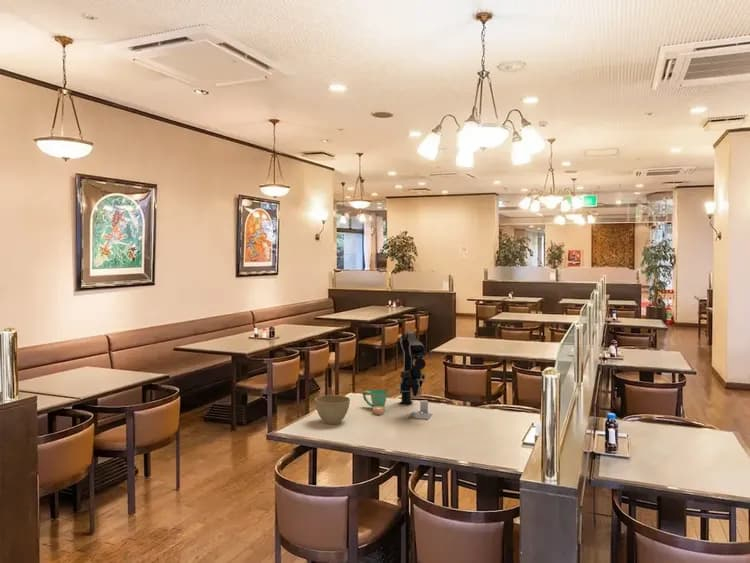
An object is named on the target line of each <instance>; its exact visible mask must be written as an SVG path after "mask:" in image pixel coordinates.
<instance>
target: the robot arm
mask: <svg viewBox="0 0 750 563" xmlns="http://www.w3.org/2000/svg"><path fill="white" fill-rule="evenodd" d="M399 340H400V341H399V344H400V346H401V348H402V350H403V371H401V372H400V375H399V376H400V383H399V385H398V393H399V394H401V401H400V402H399V404H400V403H401V404H402V405H411V404H412V403H413V400H412V398H411V397H410V388H411V387H412V391H413V395H414V396H416V394H417V392H418V389H419V387H423V384H424V382H425V380H426V374H425V373H423V372H422V370H423V369H424V368H425V367H426V365H427V364H426V361H425V359H424V358H423V357H426V348H425V346H424V344H423V343H422V342H421V341H418V339H417V336H416V334H415V331H407V332H405V333H404V334H403V335H401V337H400V339H399ZM401 404H400V405H401Z"/></svg>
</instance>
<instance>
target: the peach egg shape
mask: <svg viewBox="0 0 750 563" xmlns="http://www.w3.org/2000/svg"><path fill="white" fill-rule="evenodd" d="M384 409H385V406H384V407H382V406H375V407H372V415H373V414H374V415H375V416H383V415H384V413H385V410H384ZM374 415H373V416H374Z"/></svg>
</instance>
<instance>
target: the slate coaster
mask: <svg viewBox="0 0 750 563" xmlns="http://www.w3.org/2000/svg"><path fill="white" fill-rule="evenodd" d="M432 415H433V413H431V412H430V413H429V412H428V413H420V412H418V411H412V412H411V413H410V414H409V415H408V416H407V419H412V418H413V420H414V419H415V420H422V421H423V420H426V421H428V420H430V418H431V417H432Z"/></svg>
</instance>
